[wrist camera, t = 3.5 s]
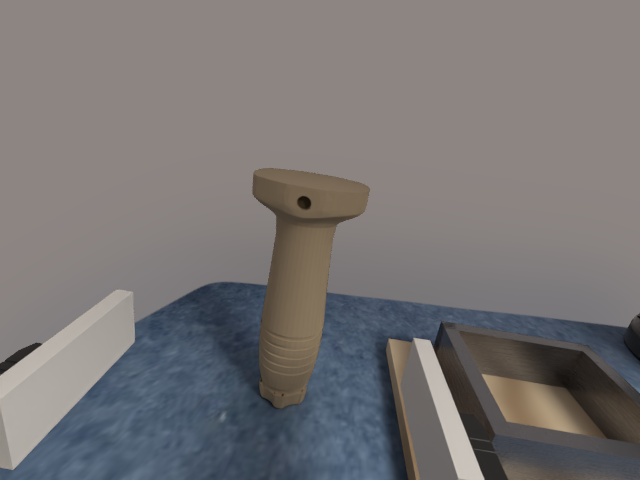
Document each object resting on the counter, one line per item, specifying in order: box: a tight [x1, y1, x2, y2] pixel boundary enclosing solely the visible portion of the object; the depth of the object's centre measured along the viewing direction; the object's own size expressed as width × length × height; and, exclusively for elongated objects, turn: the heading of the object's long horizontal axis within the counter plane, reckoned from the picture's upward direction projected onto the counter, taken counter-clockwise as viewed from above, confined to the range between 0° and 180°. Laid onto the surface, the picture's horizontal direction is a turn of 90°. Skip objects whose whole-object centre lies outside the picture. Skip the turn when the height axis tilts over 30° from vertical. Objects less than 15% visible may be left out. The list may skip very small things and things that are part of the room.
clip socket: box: [433, 321, 640, 480], centre depth 23 cm, size 12×10×4 cm
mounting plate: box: [386, 339, 607, 480], centre depth 24 cm, size 18×14×1 cm
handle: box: [253, 168, 370, 409], centre depth 22 cm, size 5×6×15 cm
